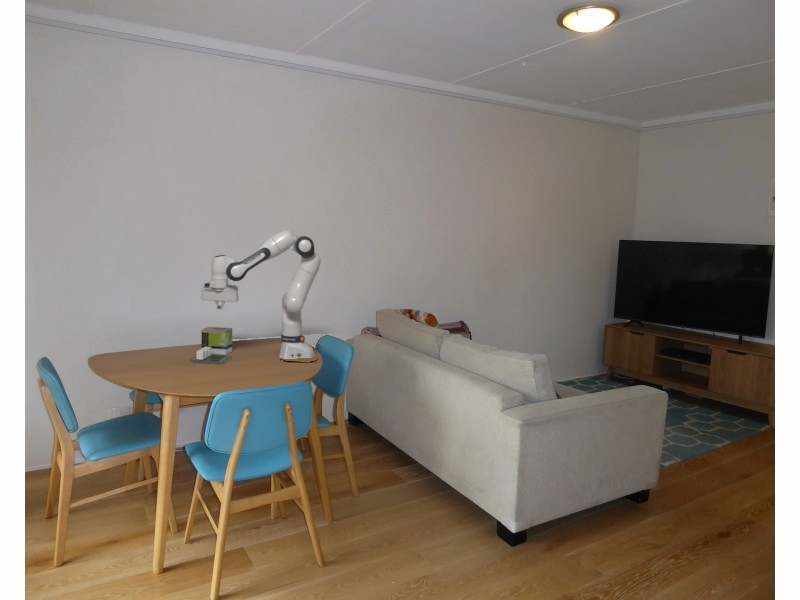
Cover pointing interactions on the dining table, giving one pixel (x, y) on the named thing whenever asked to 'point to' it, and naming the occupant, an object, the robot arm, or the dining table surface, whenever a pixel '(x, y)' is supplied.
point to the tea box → (217, 340)
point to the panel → (212, 359)
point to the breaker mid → (205, 352)
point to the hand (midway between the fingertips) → (219, 308)
